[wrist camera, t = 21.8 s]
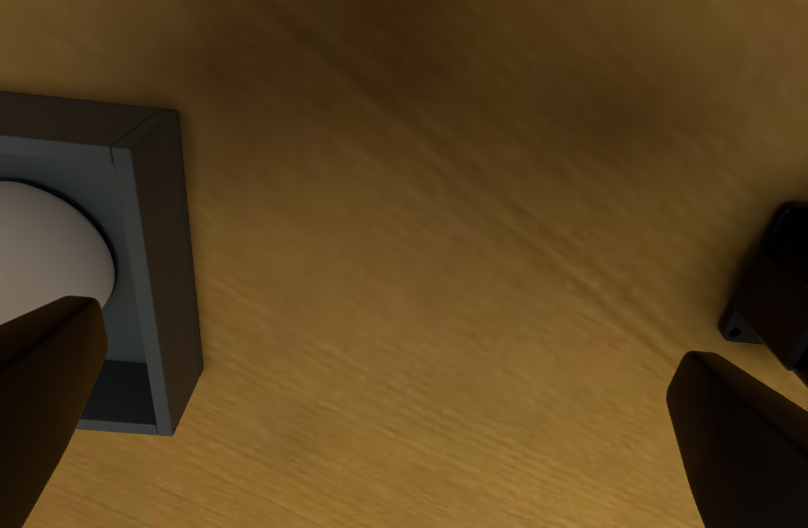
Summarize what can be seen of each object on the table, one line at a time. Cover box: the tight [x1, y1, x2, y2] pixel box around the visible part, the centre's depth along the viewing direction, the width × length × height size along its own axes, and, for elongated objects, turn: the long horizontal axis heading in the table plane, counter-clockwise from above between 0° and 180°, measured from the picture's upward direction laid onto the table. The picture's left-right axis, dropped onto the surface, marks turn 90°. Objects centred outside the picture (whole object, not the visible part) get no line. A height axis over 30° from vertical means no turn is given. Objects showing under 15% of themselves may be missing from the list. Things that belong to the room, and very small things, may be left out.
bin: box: [0, 92, 203, 436], centre depth 21 cm, size 12×12×4 cm
